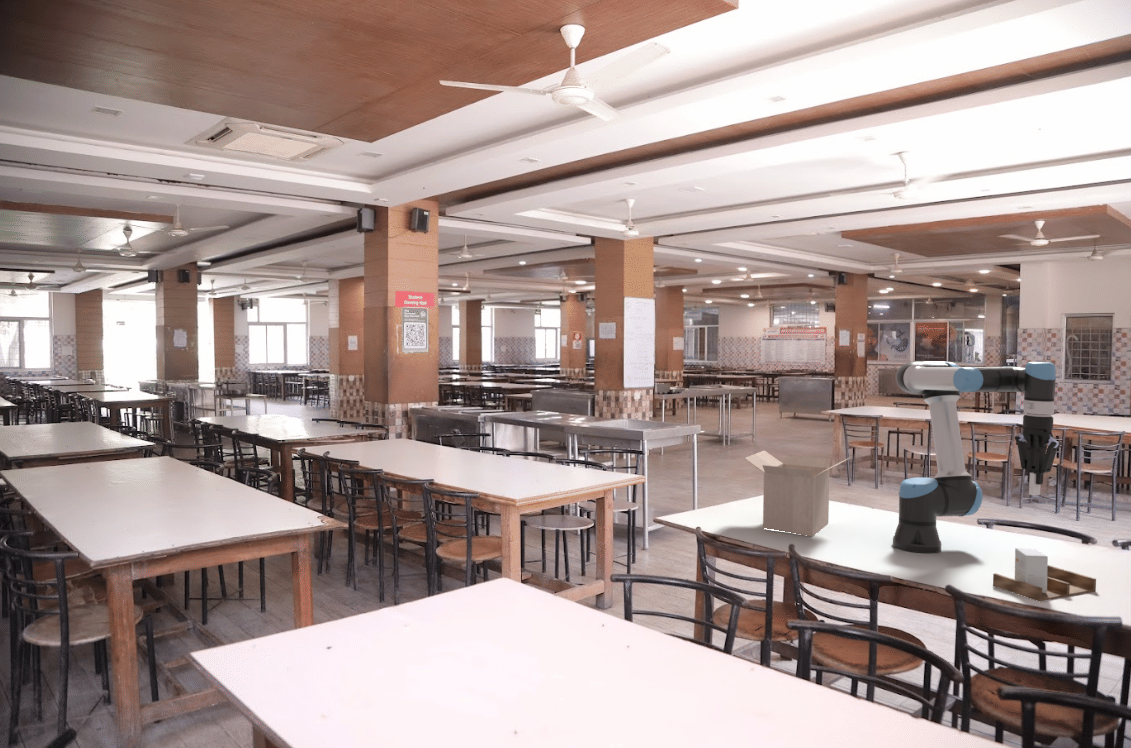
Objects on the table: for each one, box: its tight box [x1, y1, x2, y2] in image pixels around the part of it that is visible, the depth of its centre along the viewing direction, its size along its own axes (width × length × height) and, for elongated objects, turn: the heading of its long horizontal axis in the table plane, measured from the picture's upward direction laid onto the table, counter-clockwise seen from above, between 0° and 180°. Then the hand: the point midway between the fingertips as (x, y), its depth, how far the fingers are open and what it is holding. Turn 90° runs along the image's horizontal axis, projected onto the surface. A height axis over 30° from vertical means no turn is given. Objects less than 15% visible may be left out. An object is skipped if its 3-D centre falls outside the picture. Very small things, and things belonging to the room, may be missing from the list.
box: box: [743, 450, 851, 538], centre depth 286 cm, size 33×31×26 cm
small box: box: [1014, 547, 1049, 593], centre depth 213 cm, size 8×6×10 cm
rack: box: [992, 564, 1097, 602], centre depth 216 cm, size 14×23×4 cm, turn 112°
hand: (1034, 494), depth 222 cm, fingers closed
